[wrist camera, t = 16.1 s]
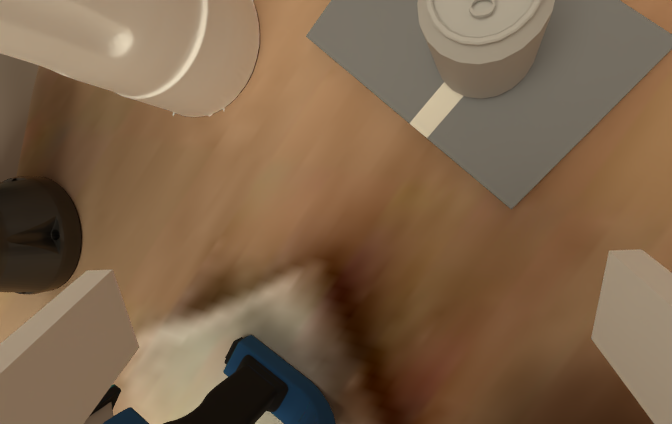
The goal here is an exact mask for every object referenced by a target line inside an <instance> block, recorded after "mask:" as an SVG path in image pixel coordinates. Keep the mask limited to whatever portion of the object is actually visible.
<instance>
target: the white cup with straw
mask: <svg viewBox="0 0 672 424" xmlns="http://www.w3.org/2000/svg"><path fill="white" fill-rule="evenodd" d="M259 36H260V33H259V22H258V17H257V12H256V9H255V5H254V3H253V0H0V53H1V54H5V55H7V56H11V57H14V58H17V59H20V60H24V61H27V62H30V63H33V64H36V65H39V66H42V67H45V68H47V69H50V70H52V71H54V72H56V73H59V74H61V75H63V76H66V77H69V78H72V79H74V80H77V81H80V82H84V83H87V84H90V85H93V86H96V87H100V88H103V89H106V90H110V91H113V92H115V93H117V94H119V95H121V96H123V97H126V98H130V99H133V100H137V101H140V102H143V103H146V104H149V105H152V106H156V107H159V108H162V109H165V110H169V111H171V112H173V116H174V114H175V113H176V114H180V115H181V116H182V115H183V116H190V117H200V116H211V115H212V114H214V113H216V112H218V111H219V110H222V109H223V111H224V108H225V107H226V106H227V105H229V104H230V103H231V102H232V101H233V100H235V98H236V97H237V96H238V95H239V93H240V92H241V91H242V89H243V88H244V87H245V85H246V84H247V82H248V80H249V78H250V77H251V74H252V72H253V69H254V66H255V62H256V60H257V54H258V49H259Z"/></svg>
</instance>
